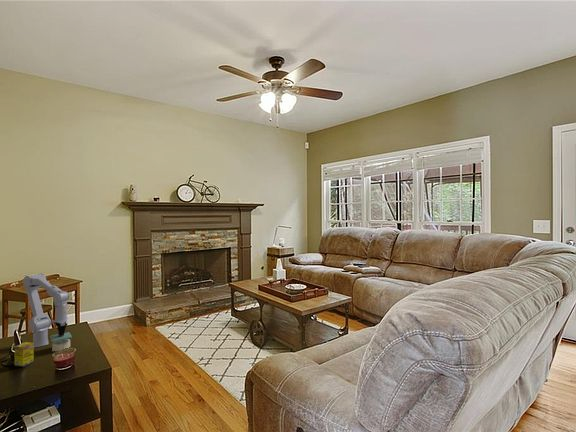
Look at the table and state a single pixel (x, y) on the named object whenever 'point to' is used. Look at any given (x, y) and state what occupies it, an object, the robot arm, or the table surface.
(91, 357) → the table surface
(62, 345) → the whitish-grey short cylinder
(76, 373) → the table surface
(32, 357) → the supplement box
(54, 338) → the lid
